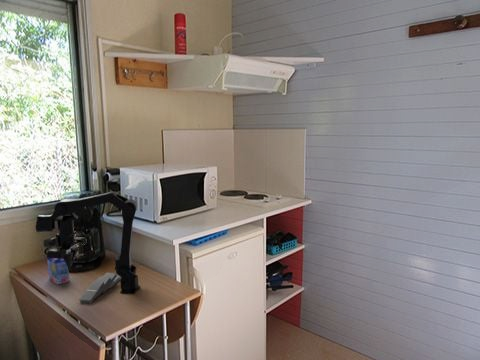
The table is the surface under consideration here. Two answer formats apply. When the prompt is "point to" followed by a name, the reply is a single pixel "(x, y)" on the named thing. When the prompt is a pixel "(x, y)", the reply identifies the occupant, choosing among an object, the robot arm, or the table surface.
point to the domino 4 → (115, 281)
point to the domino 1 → (92, 292)
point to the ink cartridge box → (58, 270)
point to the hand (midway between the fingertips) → (69, 266)
